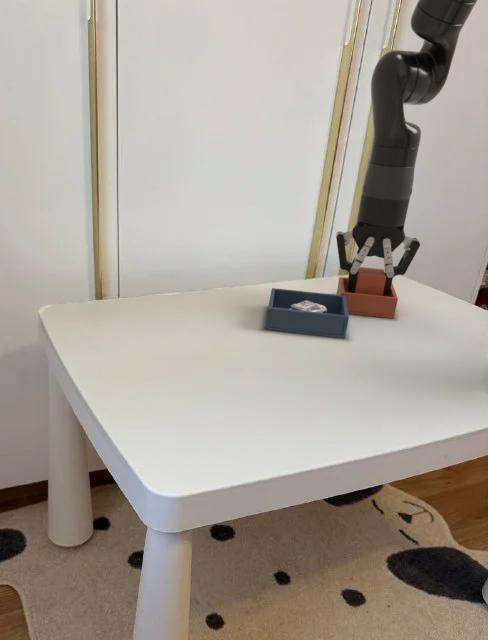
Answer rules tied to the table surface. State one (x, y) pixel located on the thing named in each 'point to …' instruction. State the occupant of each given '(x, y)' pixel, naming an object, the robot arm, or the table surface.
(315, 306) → the toy car
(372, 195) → the robot arm
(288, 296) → the blue bin
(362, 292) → the terracotta block
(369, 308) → the terracotta bin
